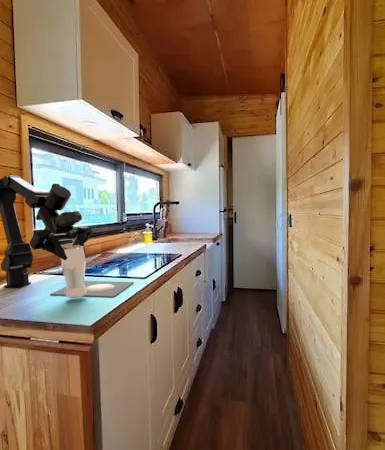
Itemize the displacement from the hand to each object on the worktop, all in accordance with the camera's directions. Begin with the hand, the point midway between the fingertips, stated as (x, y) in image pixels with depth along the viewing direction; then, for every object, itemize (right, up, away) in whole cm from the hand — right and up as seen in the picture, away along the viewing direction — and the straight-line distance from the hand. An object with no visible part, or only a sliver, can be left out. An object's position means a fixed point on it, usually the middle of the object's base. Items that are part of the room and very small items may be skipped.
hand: (75, 257), depth 92 cm
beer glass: (0, -12, +2) cm, 12 cm away
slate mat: (+1, -12, +14) cm, 19 cm away
